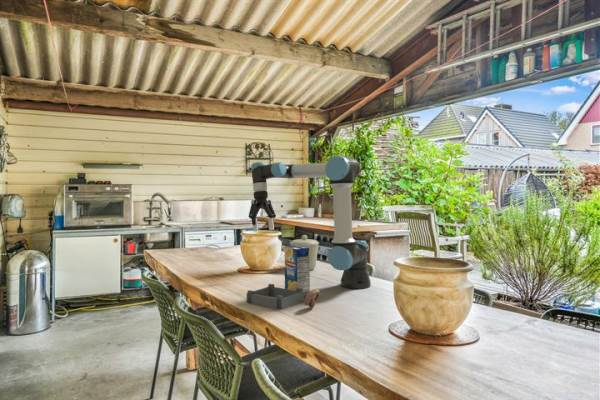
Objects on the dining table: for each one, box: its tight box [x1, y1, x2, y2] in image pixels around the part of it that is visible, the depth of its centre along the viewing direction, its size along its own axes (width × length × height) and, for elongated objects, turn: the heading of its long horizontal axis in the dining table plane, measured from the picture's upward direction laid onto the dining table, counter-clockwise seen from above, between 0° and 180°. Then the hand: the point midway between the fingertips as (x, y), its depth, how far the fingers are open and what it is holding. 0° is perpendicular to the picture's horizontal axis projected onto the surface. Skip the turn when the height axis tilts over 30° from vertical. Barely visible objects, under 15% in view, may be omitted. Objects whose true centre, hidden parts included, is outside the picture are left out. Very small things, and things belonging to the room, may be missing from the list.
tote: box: [246, 283, 305, 310], centre depth 179 cm, size 19×16×5 cm
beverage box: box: [284, 245, 311, 298], centre depth 191 cm, size 7×11×22 cm, turn 33°
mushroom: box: [303, 288, 321, 310], centre depth 168 cm, size 8×6×8 cm
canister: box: [289, 234, 320, 271], centre depth 252 cm, size 18×18×21 cm
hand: (263, 230), depth 219 cm, fingers open, 13 cm apart
